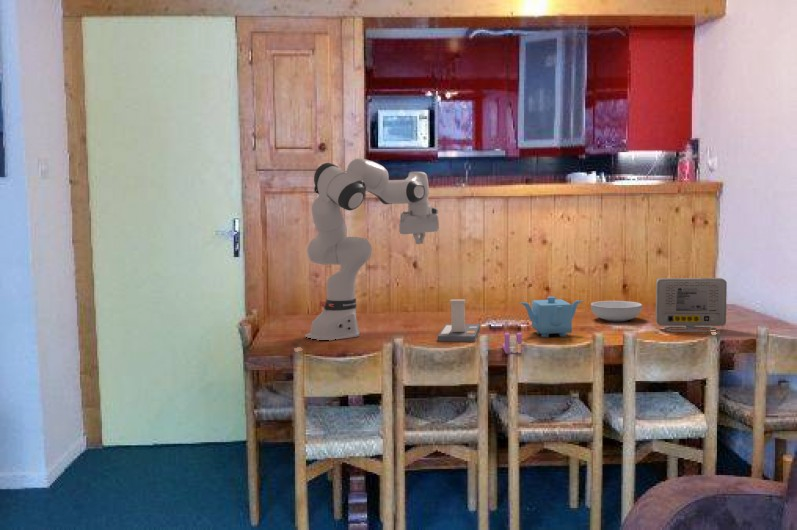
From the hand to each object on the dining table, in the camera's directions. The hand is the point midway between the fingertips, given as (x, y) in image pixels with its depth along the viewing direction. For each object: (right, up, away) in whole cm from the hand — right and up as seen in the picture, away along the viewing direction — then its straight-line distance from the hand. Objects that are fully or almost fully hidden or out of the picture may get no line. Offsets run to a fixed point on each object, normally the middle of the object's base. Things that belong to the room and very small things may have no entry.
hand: (419, 243), depth 344 cm
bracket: (+31, -39, -51) cm, 71 cm away
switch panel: (+15, -36, -21) cm, 45 cm away
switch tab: (+14, -34, -26) cm, 46 cm away
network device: (+105, -34, -23) cm, 113 cm away
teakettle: (+50, -36, -26) cm, 67 cm away
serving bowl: (+83, -32, +3) cm, 89 cm away
